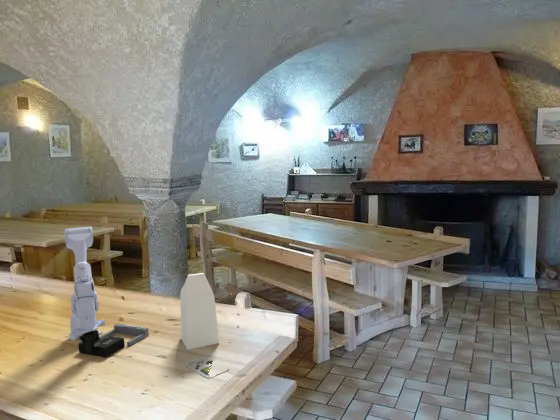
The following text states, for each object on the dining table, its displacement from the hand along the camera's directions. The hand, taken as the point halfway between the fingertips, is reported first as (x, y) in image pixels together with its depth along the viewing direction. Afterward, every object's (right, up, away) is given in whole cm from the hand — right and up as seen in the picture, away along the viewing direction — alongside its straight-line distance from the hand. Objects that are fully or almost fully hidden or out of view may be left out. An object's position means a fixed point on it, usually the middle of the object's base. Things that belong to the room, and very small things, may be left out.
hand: (89, 351), depth 166 cm
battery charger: (+2, -2, +6) cm, 6 cm away
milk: (+37, 0, +11) cm, 39 cm away
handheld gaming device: (+43, -3, -10) cm, 45 cm away
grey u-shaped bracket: (+7, 0, +16) cm, 17 cm away
